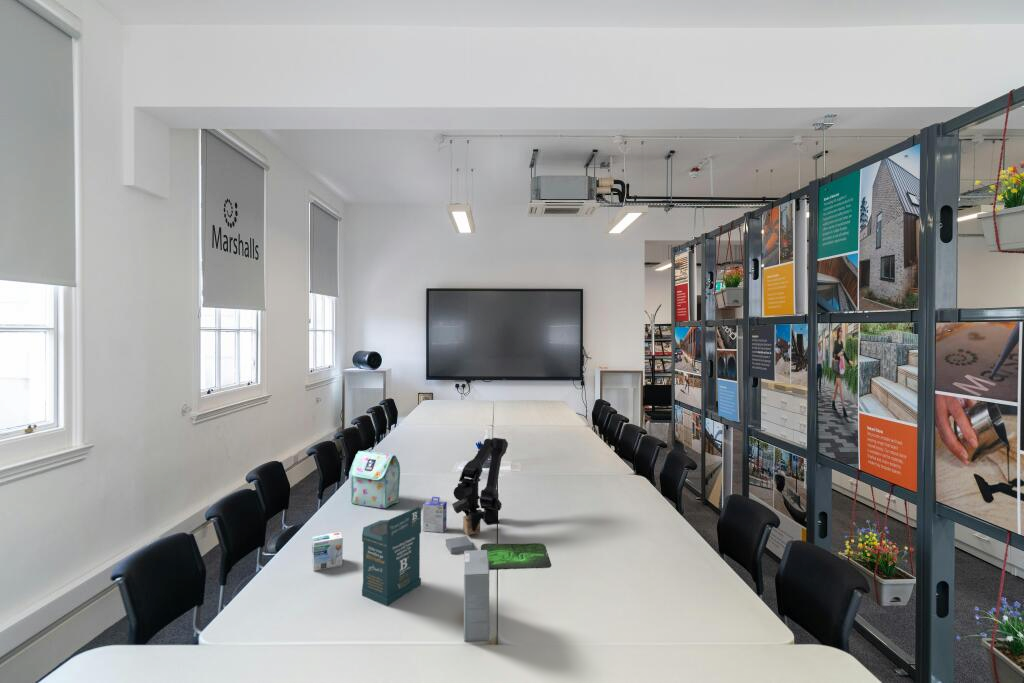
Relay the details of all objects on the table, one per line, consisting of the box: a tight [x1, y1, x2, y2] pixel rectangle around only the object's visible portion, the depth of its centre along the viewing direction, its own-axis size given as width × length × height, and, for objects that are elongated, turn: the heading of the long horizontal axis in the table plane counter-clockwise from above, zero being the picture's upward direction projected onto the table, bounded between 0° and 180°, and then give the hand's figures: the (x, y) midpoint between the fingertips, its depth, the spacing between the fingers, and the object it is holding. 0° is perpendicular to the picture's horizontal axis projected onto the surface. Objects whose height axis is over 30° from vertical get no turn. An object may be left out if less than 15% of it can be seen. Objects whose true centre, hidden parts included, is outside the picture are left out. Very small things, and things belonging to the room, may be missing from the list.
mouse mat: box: [480, 542, 552, 570], centre depth 196 cm, size 27×22×1 cm
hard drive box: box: [463, 549, 490, 642], centre depth 149 cm, size 16×8×20 cm, turn 5°
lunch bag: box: [349, 450, 401, 509], centre depth 255 cm, size 23×16×27 cm
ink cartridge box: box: [422, 496, 448, 533], centre depth 221 cm, size 10×6×14 cm, turn 81°
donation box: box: [361, 506, 422, 607], centre depth 170 cm, size 16×16×28 cm
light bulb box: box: [311, 531, 344, 572], centre depth 187 cm, size 11×7×11 cm, turn 117°
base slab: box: [445, 535, 474, 555], centre depth 203 cm, size 9×9×3 cm
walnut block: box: [462, 515, 481, 536], centre depth 216 cm, size 6×6×6 cm
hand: (471, 528), depth 216 cm, fingers closed on walnut block, 6 cm apart
